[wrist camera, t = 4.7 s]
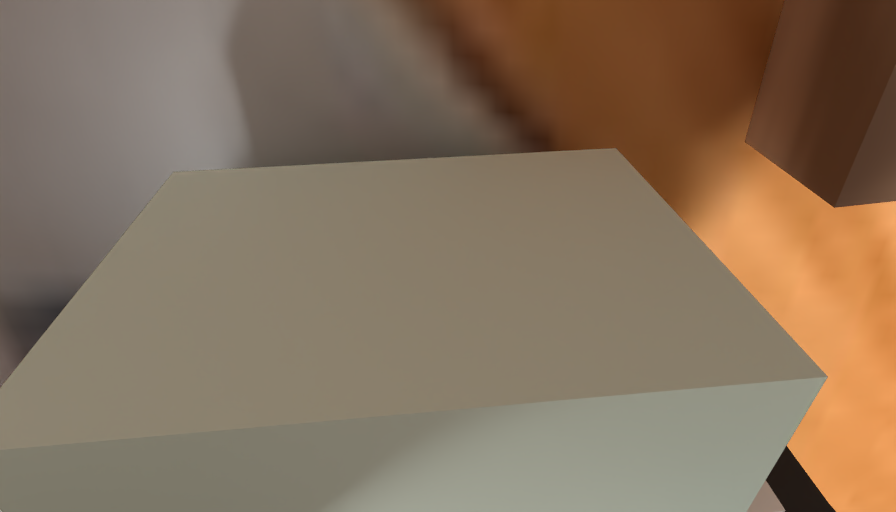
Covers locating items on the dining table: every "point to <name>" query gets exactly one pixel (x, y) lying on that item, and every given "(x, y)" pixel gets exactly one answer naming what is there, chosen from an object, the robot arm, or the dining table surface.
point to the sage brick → (406, 350)
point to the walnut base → (832, 99)
